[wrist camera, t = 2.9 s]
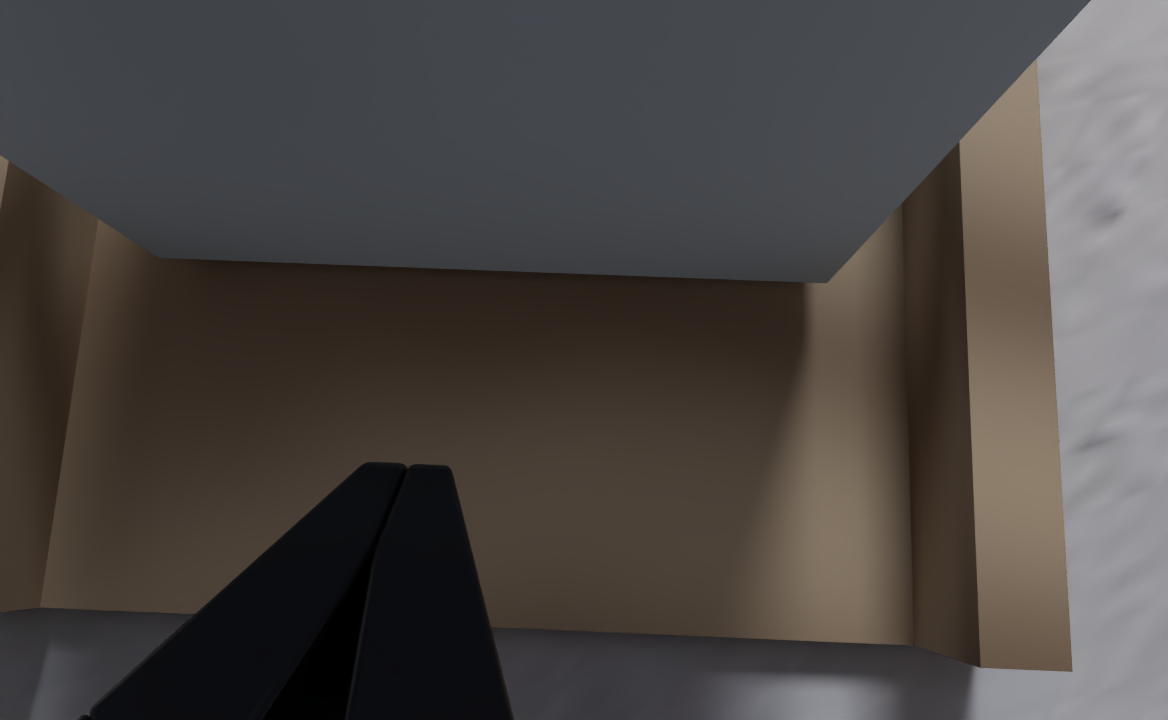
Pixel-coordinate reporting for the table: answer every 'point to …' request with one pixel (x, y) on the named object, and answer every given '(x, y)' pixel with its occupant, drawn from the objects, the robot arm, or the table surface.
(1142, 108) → the table surface
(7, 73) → the grey block
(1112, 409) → the table surface
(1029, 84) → the box
